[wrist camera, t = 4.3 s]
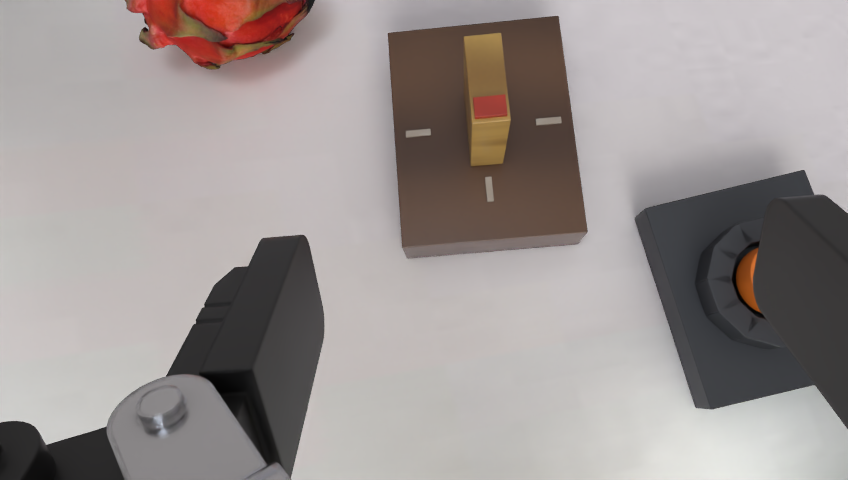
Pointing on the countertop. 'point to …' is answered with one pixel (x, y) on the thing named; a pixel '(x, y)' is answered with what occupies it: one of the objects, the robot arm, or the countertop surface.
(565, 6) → the countertop surface
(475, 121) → the lock knob
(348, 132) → the countertop surface
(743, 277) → the bell button
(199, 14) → the dragon fruit
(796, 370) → the box
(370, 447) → the countertop surface
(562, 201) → the panel
